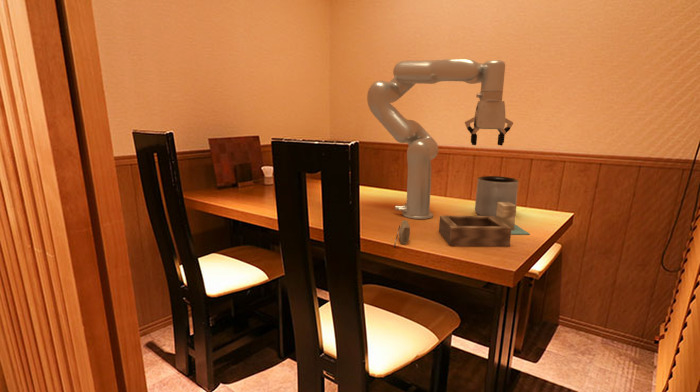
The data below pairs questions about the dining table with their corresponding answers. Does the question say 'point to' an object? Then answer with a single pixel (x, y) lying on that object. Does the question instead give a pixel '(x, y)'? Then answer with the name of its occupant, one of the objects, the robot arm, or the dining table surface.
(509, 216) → the beech block
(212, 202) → the dining table surface
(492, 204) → the planter
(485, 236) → the box
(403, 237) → the cuneiform tablet
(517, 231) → the mat
